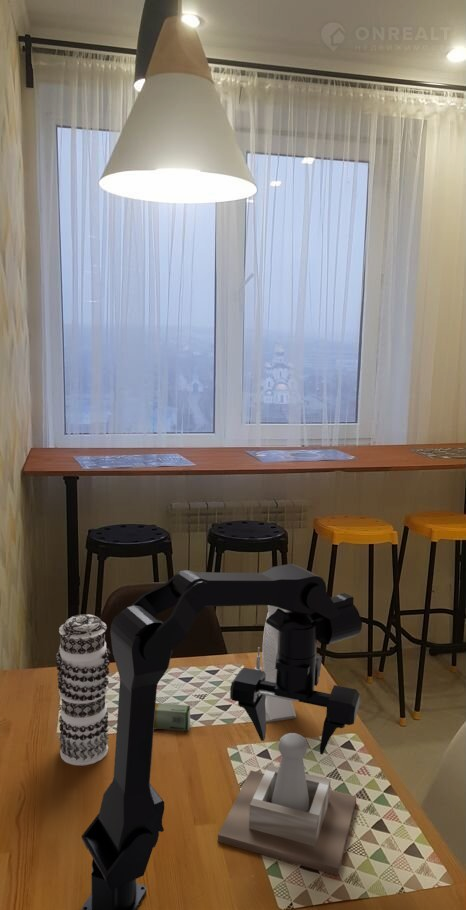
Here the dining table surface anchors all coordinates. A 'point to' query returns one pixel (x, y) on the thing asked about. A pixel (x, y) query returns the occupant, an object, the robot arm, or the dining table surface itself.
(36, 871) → the dining table surface
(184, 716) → the medication box
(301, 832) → the socket board
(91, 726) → the decorative candle
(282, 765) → the salt shaker
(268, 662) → the skyscraper
